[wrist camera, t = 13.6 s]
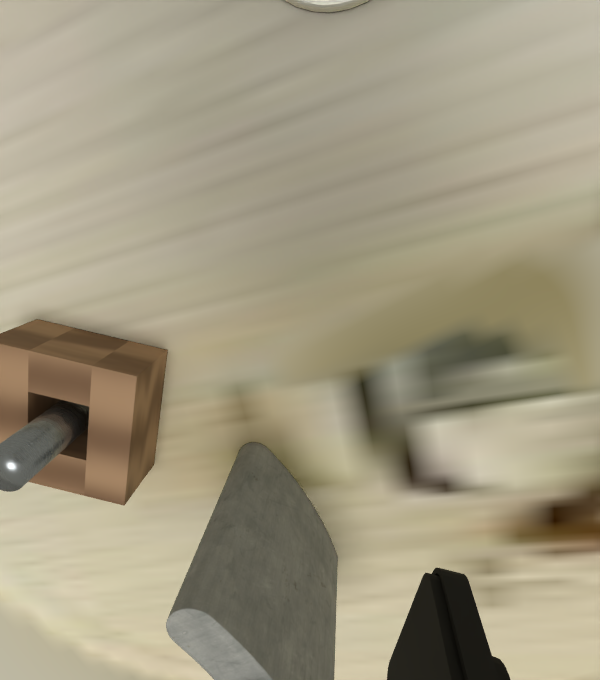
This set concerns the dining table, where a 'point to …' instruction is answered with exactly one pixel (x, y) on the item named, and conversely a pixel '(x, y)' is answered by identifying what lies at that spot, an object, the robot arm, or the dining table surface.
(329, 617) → the hip flask
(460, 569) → the dining table surface
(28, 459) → the grey metal rod
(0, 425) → the wooden square hole block
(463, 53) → the dining table surface
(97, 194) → the dining table surface
